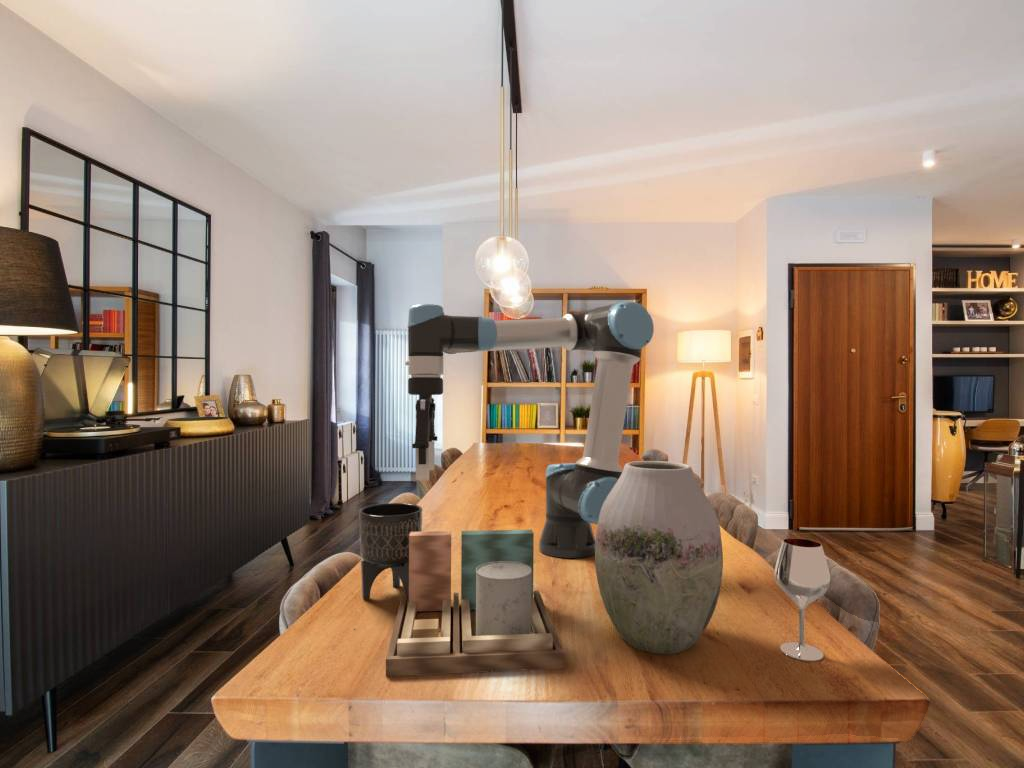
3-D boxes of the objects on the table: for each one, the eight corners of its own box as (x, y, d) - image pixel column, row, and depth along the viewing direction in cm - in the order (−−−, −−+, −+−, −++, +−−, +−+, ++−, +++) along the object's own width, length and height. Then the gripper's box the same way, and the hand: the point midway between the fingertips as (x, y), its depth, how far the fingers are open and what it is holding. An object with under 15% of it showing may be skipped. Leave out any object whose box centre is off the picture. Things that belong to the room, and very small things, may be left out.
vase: (750, 658, 93) (751, 471, 93) (631, 677, 87) (632, 476, 87) (676, 609, 113) (677, 455, 113) (575, 621, 107) (576, 459, 107)
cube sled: (450, 604, 114) (451, 531, 114) (449, 667, 89) (450, 572, 89) (409, 605, 113) (410, 531, 113) (396, 669, 88) (397, 574, 88)
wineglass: (764, 642, 99) (765, 536, 99) (810, 640, 99) (810, 535, 99) (791, 665, 91) (792, 550, 91) (841, 663, 91) (841, 549, 91)
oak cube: (438, 642, 98) (438, 618, 98) (437, 653, 94) (437, 628, 94) (414, 643, 98) (414, 619, 98) (412, 654, 94) (412, 629, 94)
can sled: (531, 601, 116) (531, 529, 116) (552, 662, 90) (553, 570, 90) (461, 604, 114) (461, 530, 114) (462, 666, 89) (463, 572, 89)
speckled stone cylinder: (538, 634, 101) (538, 564, 101) (521, 659, 92) (521, 581, 92) (487, 626, 104) (487, 558, 104) (466, 649, 95) (466, 575, 95)
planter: (366, 611, 111) (367, 518, 111) (352, 589, 123) (352, 506, 123) (430, 599, 117) (431, 512, 117) (411, 580, 129) (411, 500, 129)
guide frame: (538, 602, 116) (538, 590, 116) (563, 668, 89) (563, 652, 89) (402, 607, 113) (402, 594, 113) (385, 676, 86) (385, 659, 86)
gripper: (414, 377, 137) (414, 466, 137) (400, 375, 112) (400, 484, 112) (446, 377, 138) (446, 466, 138) (439, 375, 113) (439, 484, 113)
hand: (425, 474), depth 125 cm, fingers open, 13 cm apart
